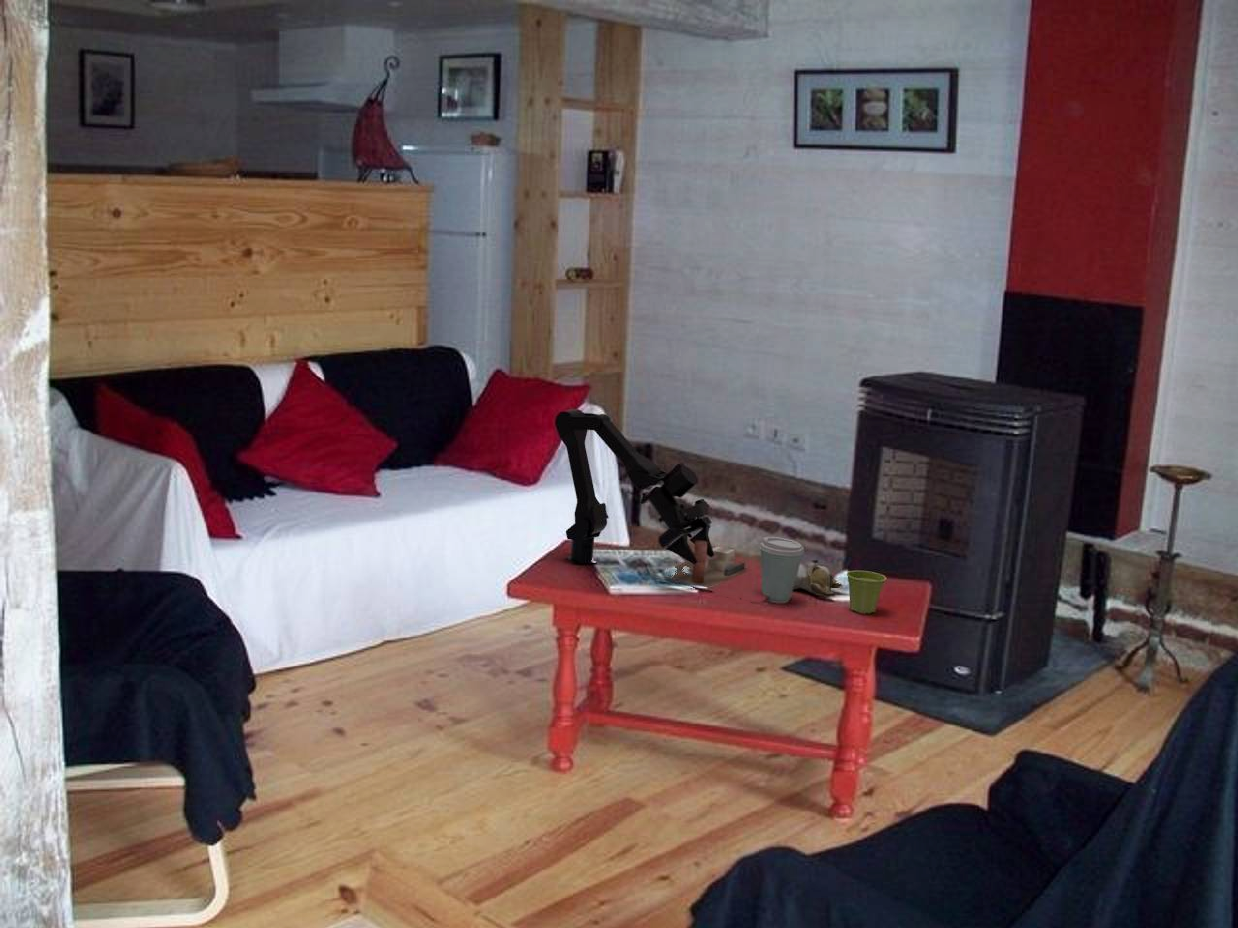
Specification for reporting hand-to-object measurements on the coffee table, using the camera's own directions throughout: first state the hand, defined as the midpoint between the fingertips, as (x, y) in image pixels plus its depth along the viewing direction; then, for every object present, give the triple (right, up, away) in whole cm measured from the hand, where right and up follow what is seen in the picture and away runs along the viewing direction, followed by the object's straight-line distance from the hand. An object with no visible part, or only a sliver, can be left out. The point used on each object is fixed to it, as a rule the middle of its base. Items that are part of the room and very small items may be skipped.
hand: (704, 559), depth 350 cm
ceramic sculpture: (+27, -9, +6) cm, 30 cm away
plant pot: (+37, -12, -6) cm, 40 cm away
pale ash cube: (+5, -3, +15) cm, 16 cm away
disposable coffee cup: (+17, -10, -4) cm, 20 cm away
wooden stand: (0, -5, +11) cm, 12 cm away
